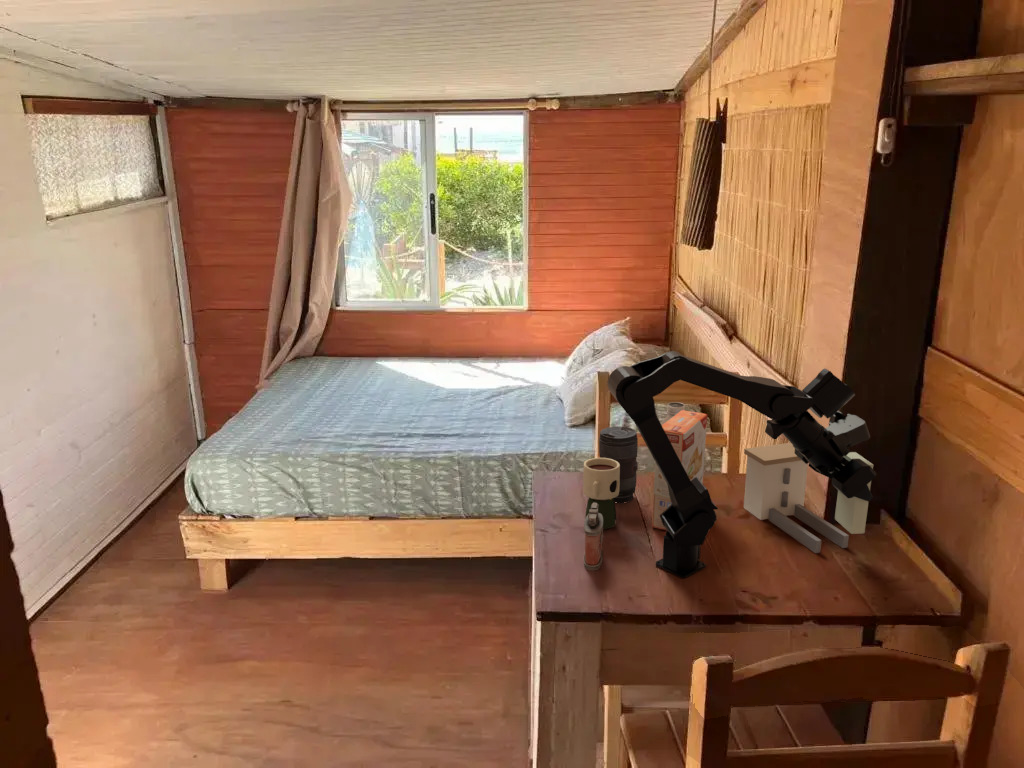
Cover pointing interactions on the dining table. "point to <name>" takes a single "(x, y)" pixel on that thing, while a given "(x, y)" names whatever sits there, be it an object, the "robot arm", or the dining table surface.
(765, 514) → the cabinet
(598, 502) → the character mug
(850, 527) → the rectangular block
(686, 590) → the dining table surface
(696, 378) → the robot arm
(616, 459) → the camera lens
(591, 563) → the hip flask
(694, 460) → the cracker box
